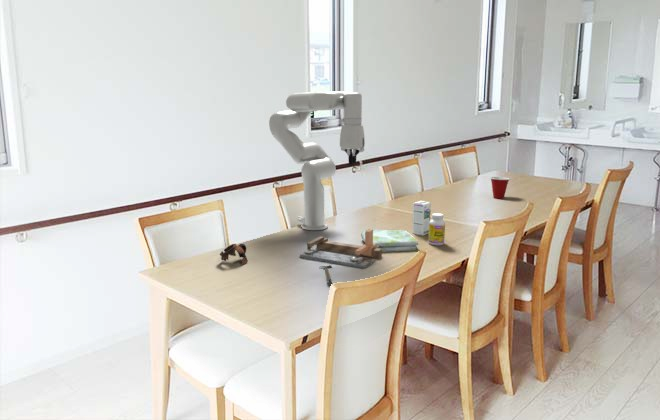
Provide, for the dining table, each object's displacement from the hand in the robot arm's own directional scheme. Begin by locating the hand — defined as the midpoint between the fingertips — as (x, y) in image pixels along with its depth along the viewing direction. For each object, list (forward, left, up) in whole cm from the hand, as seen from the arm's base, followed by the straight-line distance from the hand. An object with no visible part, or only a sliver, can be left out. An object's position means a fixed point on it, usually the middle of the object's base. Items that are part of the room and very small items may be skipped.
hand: (352, 164), depth 251 cm
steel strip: (+9, -33, -32) cm, 47 cm away
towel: (+20, -5, -33) cm, 39 cm away
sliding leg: (+18, -26, -31) cm, 45 cm away
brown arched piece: (-24, -52, -32) cm, 66 cm away
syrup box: (+26, +18, -32) cm, 45 cm away
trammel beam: (+9, -27, -32) cm, 43 cm away
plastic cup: (+41, +109, -32) cm, 121 cm away
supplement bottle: (+37, +6, -32) cm, 49 cm away
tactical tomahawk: (+14, -51, -33) cm, 62 cm away
